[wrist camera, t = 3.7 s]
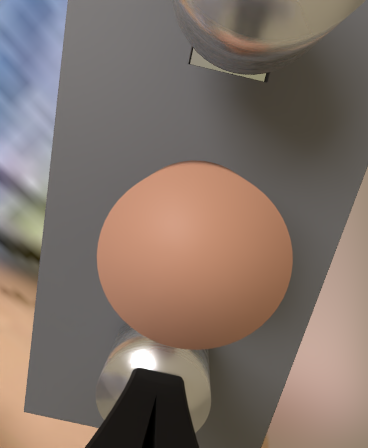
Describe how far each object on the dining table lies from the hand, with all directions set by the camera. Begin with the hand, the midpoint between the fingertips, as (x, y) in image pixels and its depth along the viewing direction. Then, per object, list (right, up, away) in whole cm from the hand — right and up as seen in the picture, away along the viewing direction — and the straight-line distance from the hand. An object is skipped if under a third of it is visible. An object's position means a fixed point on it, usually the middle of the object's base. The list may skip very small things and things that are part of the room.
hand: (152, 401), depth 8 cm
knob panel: (+1, +6, +4) cm, 7 cm away
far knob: (0, +1, +5) cm, 5 cm away
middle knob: (+1, +5, +1) cm, 6 cm away
